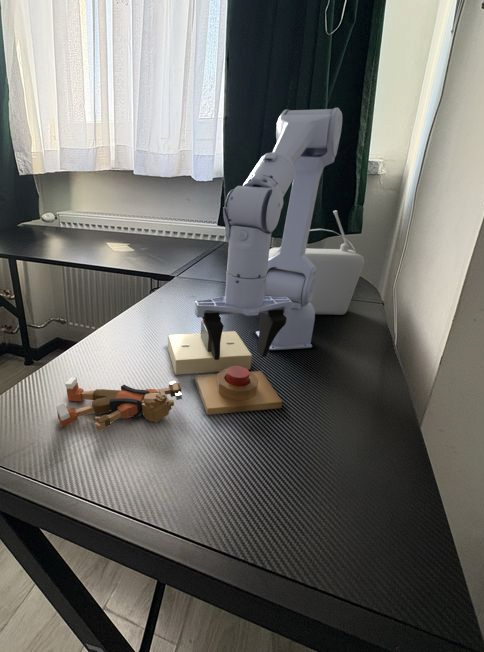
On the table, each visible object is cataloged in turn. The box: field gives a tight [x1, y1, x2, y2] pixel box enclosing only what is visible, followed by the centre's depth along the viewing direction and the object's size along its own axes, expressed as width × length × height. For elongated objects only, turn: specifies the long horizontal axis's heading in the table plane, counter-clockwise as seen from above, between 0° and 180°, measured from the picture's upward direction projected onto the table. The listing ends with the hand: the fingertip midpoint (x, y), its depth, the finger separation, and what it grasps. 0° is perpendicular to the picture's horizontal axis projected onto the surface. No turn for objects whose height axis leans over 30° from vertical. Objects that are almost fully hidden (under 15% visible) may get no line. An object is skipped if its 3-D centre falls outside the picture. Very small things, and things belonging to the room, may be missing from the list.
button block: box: [194, 369, 283, 416], centre depth 61 cm, size 12×9×3 cm
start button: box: [226, 366, 250, 386], centre depth 61 cm, size 4×4×2 cm
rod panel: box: [167, 330, 253, 376], centre depth 72 cm, size 14×10×3 cm
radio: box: [268, 209, 365, 316], centre depth 92 cm, size 22×8×25 cm, turn 88°
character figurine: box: [56, 376, 183, 432], centre depth 56 cm, size 12×5×18 cm
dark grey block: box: [200, 319, 212, 352], centre depth 71 cm, size 6×2×4 cm, turn 9°
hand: (238, 355), depth 59 cm, fingers open, 7 cm apart
